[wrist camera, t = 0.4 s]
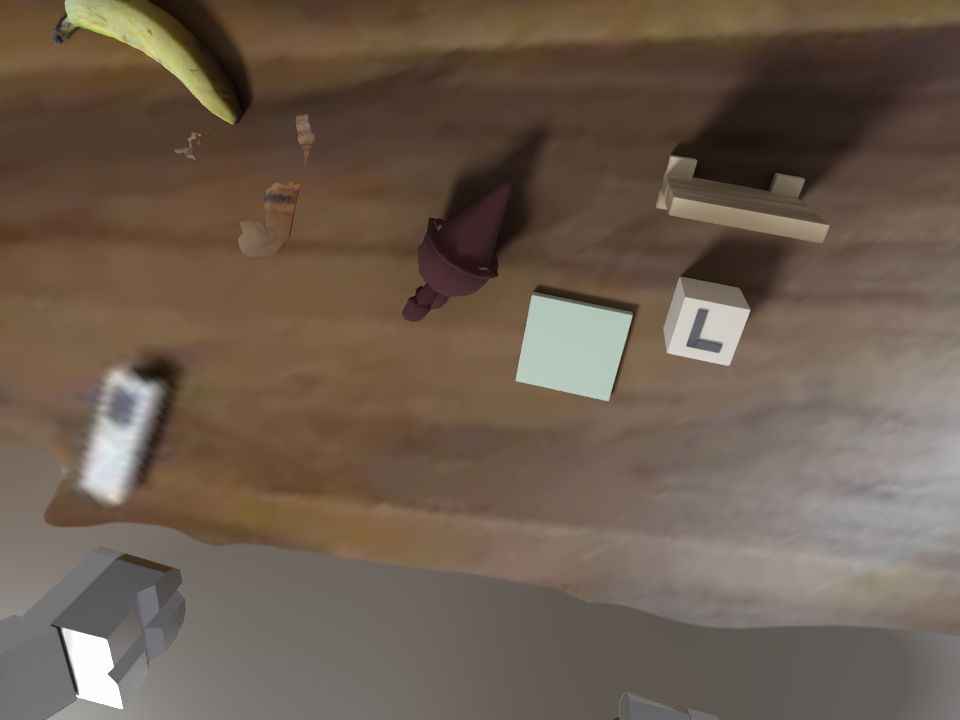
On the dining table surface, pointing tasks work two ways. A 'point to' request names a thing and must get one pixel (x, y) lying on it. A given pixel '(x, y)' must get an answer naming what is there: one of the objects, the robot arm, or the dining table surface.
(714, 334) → the letter cube
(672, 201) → the oak screen
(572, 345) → the green tile
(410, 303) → the maroon gnome figurine
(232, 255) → the dining table surface
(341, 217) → the dining table surface
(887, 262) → the dining table surface
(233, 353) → the dining table surface
